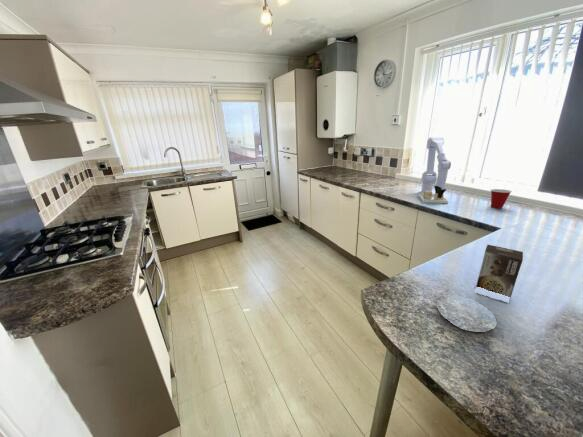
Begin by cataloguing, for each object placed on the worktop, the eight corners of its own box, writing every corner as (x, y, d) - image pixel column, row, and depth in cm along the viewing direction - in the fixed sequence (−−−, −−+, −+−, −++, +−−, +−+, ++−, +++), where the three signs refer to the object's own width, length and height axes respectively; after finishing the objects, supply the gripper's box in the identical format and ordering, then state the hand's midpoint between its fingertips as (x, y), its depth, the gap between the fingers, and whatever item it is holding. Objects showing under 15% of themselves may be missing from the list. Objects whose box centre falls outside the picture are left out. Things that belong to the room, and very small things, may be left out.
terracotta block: (433, 199, 182) (435, 193, 180) (440, 199, 181) (441, 193, 179) (435, 201, 178) (436, 194, 176) (442, 201, 177) (443, 194, 175)
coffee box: (509, 294, 81) (524, 251, 75) (508, 304, 77) (524, 260, 71) (476, 284, 87) (487, 243, 81) (473, 292, 82) (485, 250, 77)
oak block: (423, 197, 189) (424, 190, 187) (429, 197, 188) (430, 191, 186) (424, 198, 185) (425, 192, 183) (431, 198, 184) (432, 192, 182)
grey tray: (417, 196, 193) (418, 193, 192) (440, 197, 189) (441, 194, 188) (422, 202, 177) (423, 199, 176) (447, 203, 173) (448, 200, 172)
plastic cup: (499, 204, 167) (504, 187, 163) (510, 209, 157) (516, 191, 153) (482, 204, 168) (486, 187, 164) (492, 209, 158) (497, 192, 154)
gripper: (451, 180, 166) (447, 199, 171) (445, 176, 179) (441, 194, 184) (439, 180, 168) (436, 199, 173) (434, 176, 181) (431, 194, 186)
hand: (438, 196), depth 178 cm, fingers open, 6 cm apart
